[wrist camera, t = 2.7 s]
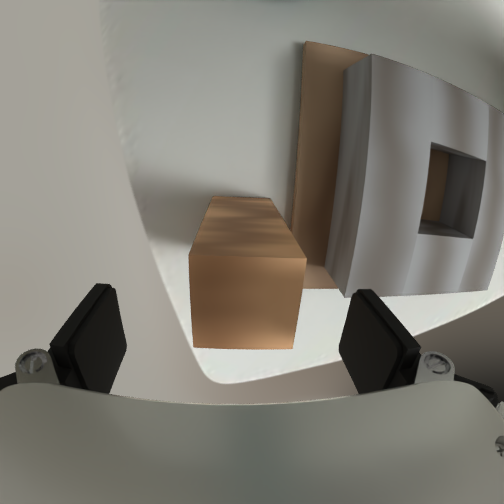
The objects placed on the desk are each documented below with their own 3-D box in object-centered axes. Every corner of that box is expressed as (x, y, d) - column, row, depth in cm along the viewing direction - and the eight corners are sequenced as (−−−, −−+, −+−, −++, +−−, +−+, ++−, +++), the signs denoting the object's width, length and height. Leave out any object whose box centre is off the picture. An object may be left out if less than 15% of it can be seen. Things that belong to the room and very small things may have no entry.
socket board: (491, 110, 19) (530, 113, 13) (464, 280, 26) (495, 305, 21) (303, 44, 17) (325, 15, 12) (284, 282, 25) (297, 323, 19)
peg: (270, 198, 22) (306, 258, 11) (266, 251, 23) (292, 348, 12) (212, 196, 22) (188, 255, 10) (212, 249, 23) (193, 347, 12)
